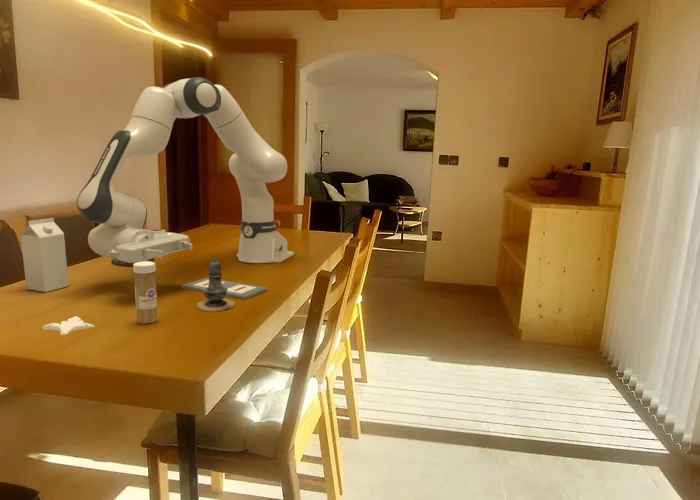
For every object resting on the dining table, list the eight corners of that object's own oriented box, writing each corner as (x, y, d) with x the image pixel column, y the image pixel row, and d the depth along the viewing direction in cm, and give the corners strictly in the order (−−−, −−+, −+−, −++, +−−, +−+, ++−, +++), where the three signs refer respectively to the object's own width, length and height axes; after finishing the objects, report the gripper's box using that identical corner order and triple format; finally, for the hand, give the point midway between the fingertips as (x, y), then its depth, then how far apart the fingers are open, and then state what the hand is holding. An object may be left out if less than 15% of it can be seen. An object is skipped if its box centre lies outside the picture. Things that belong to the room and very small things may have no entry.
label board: (206, 280, 144) (206, 276, 144) (267, 290, 135) (267, 286, 135) (181, 288, 135) (181, 284, 135) (245, 299, 126) (245, 295, 126)
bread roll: (127, 269, 157) (126, 254, 156) (106, 263, 163) (105, 249, 162) (161, 262, 167) (161, 248, 166) (140, 257, 174) (140, 244, 173)
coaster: (214, 298, 126) (213, 296, 126) (241, 303, 123) (241, 301, 122) (189, 308, 118) (189, 305, 118) (218, 313, 115) (218, 311, 114)
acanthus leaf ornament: (43, 332, 102) (42, 323, 102) (74, 323, 108) (73, 314, 108) (64, 338, 99) (63, 329, 98) (95, 328, 105) (94, 320, 104)
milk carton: (26, 289, 130) (18, 220, 126) (50, 283, 137) (44, 217, 133) (45, 292, 128) (38, 222, 124) (68, 286, 134) (62, 218, 130)
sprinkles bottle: (147, 325, 106) (144, 266, 103) (131, 322, 107) (128, 263, 105) (162, 319, 110) (159, 262, 107) (147, 316, 112) (144, 259, 109)
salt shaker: (221, 308, 117) (219, 260, 115) (199, 305, 118) (197, 258, 116) (232, 301, 123) (231, 255, 120) (211, 299, 124) (209, 253, 122)
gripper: (103, 240, 119) (143, 245, 114) (166, 228, 137) (203, 232, 132) (105, 265, 121) (146, 271, 115) (167, 250, 139) (205, 254, 133)
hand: (177, 250), depth 123 cm, fingers open, 8 cm apart
